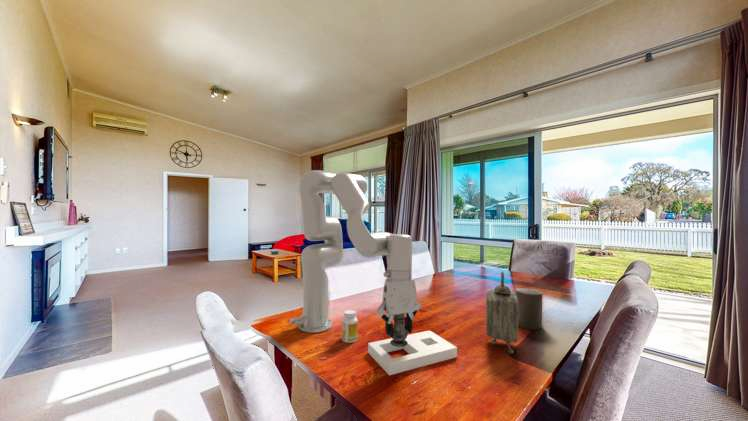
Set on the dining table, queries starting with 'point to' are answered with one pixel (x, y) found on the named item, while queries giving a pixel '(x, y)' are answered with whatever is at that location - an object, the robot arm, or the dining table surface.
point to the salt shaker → (399, 332)
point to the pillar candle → (529, 308)
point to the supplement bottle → (349, 326)
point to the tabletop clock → (502, 314)
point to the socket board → (412, 352)
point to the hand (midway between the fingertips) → (398, 332)
